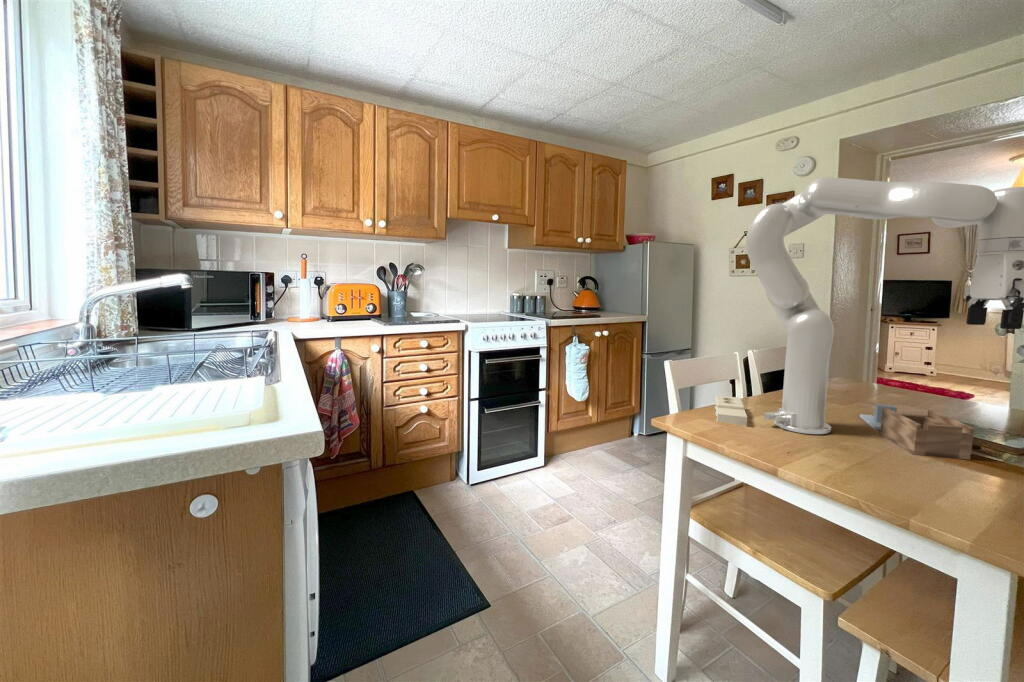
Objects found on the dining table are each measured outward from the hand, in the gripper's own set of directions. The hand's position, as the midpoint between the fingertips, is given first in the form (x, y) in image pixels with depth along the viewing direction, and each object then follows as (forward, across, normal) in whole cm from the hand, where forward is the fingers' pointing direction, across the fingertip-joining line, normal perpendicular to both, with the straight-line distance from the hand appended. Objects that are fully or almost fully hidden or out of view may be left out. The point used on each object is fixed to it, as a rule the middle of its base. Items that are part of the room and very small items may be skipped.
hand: (992, 326), depth 94 cm
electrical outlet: (+29, +13, +49) cm, 58 cm away
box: (+28, -1, +10) cm, 30 cm away
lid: (+29, +16, +10) cm, 34 cm away
